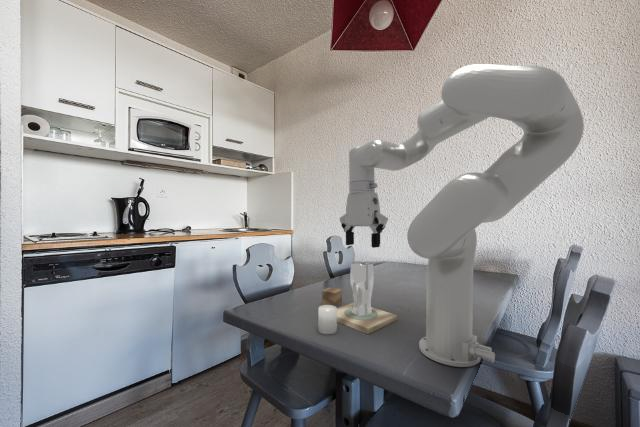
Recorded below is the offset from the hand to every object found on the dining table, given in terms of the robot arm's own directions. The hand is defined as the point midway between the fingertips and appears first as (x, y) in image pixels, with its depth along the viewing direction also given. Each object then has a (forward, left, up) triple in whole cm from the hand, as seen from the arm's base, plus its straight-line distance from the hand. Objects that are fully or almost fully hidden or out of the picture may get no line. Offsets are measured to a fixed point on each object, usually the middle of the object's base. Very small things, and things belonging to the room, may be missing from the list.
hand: (362, 245), depth 81 cm
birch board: (0, 0, -22) cm, 22 cm away
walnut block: (+15, -3, -22) cm, 27 cm away
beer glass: (0, 0, -20) cm, 20 cm away
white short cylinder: (+1, +13, -22) cm, 26 cm away
